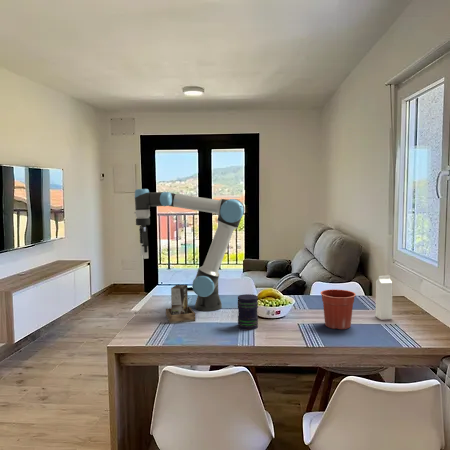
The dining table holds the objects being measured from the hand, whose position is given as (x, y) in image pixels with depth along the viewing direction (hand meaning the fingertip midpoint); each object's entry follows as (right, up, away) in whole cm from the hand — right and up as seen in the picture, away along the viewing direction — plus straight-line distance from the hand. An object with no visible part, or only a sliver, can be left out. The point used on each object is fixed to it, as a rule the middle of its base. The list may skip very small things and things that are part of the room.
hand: (144, 256), depth 227 cm
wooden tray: (+20, -32, -8) cm, 39 cm away
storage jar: (+55, -33, -23) cm, 68 cm away
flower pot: (+99, -32, -23) cm, 106 cm away
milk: (+125, -31, -12) cm, 129 cm away
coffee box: (+20, -31, -8) cm, 38 cm away
